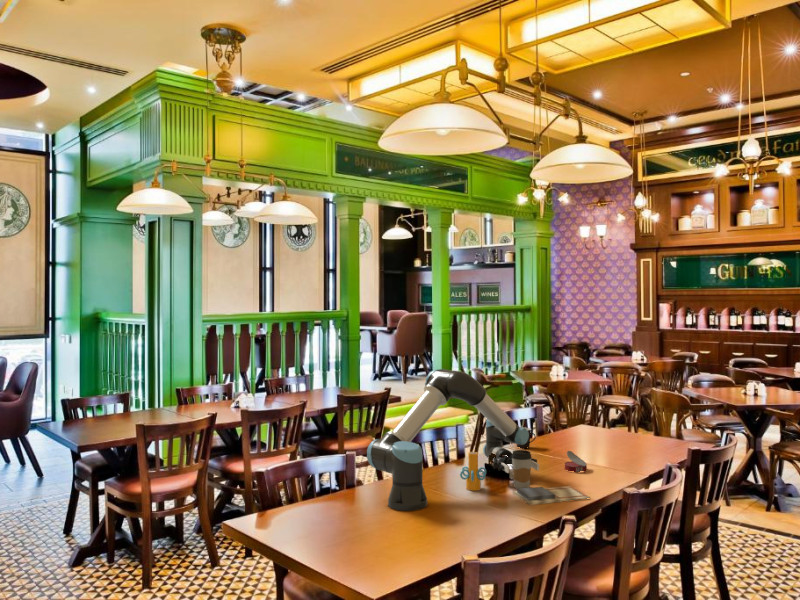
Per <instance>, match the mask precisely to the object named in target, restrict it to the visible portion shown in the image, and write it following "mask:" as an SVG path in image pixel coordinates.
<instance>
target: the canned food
mask: <svg viewBox="0 0 800 600" xmlns="http://www.w3.org/2000/svg"><path fill="white" fill-rule="evenodd" d="M566 456H567V457H568V459H569V460H570V461H566V462H564V470H565V469H566V470H568V471H574V472H580V471H586V470H587V471H588V469H587V468H588V467H587V466H588V465H587V462H585V460H583V459H582V458H581V457H579V456H578V455H577V454H576V453H574V452H573V451H571V450H567V452H566ZM587 471H586V472H587Z"/></svg>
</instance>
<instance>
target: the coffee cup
mask: <svg viewBox="0 0 800 600" xmlns="http://www.w3.org/2000/svg"><path fill="white" fill-rule="evenodd" d="M531 458H532V454H531V451H529V450H527V449H516V450H513V451H512V465H511V466H512V478H513V486H514V489H516V490H517V489H523V488H531V487H530V485H531V473H532V472H531V470H532V467H531Z"/></svg>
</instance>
